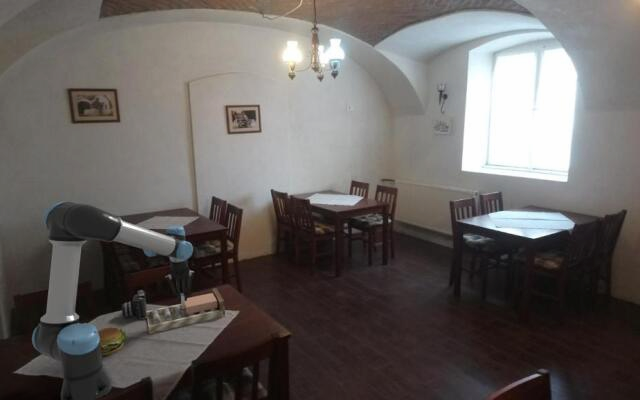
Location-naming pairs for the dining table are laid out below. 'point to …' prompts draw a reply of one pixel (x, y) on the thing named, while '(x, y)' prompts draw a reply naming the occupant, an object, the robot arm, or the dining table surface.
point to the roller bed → (178, 321)
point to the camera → (136, 306)
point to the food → (111, 340)
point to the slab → (200, 303)
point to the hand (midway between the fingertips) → (183, 307)
